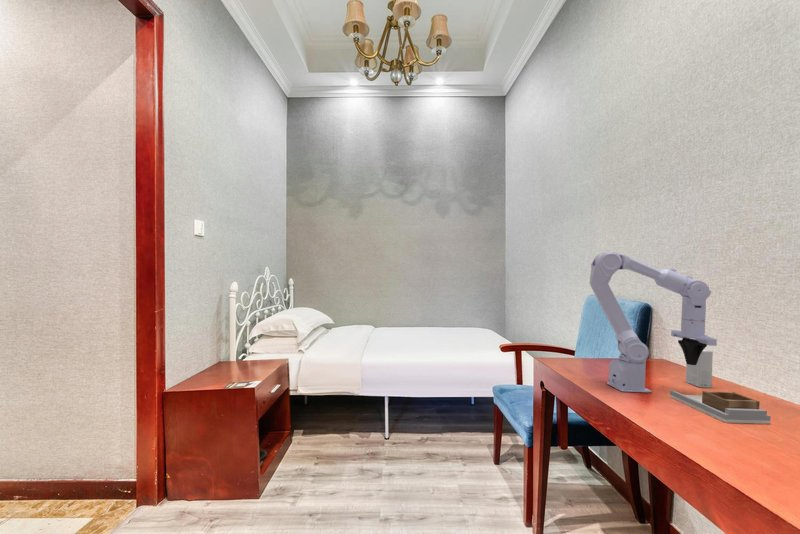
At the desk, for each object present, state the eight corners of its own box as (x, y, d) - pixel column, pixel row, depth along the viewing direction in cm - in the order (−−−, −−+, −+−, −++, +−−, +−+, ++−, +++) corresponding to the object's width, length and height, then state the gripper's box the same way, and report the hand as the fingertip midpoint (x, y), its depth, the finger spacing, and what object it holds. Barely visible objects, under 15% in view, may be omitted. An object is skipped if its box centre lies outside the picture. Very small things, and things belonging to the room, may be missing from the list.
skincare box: (712, 388, 120) (713, 351, 120) (698, 387, 120) (700, 351, 120) (697, 382, 126) (698, 347, 126) (684, 381, 126) (686, 346, 126)
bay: (725, 422, 92) (725, 409, 92) (670, 396, 110) (670, 386, 110) (770, 423, 92) (770, 411, 92) (707, 398, 110) (708, 387, 110)
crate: (725, 416, 93) (725, 400, 93) (701, 405, 100) (702, 391, 100) (758, 417, 94) (759, 401, 94) (733, 406, 101) (733, 392, 101)
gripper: (727, 324, 105) (725, 371, 105) (686, 317, 119) (685, 358, 119) (703, 323, 105) (701, 370, 105) (665, 316, 119) (663, 358, 119)
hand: (691, 364), depth 112 cm, fingers closed
